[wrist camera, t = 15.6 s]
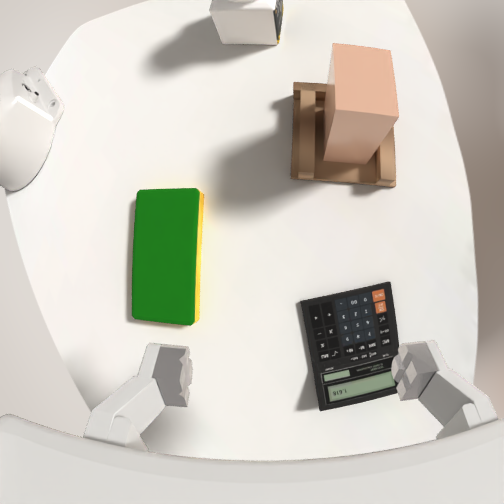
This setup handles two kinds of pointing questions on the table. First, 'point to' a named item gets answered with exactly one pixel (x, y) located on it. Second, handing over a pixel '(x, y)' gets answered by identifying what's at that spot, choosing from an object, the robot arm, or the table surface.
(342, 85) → the clay block
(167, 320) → the dish sponge
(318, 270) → the table surface
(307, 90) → the tray
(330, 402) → the calculator
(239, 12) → the medicine bottle
